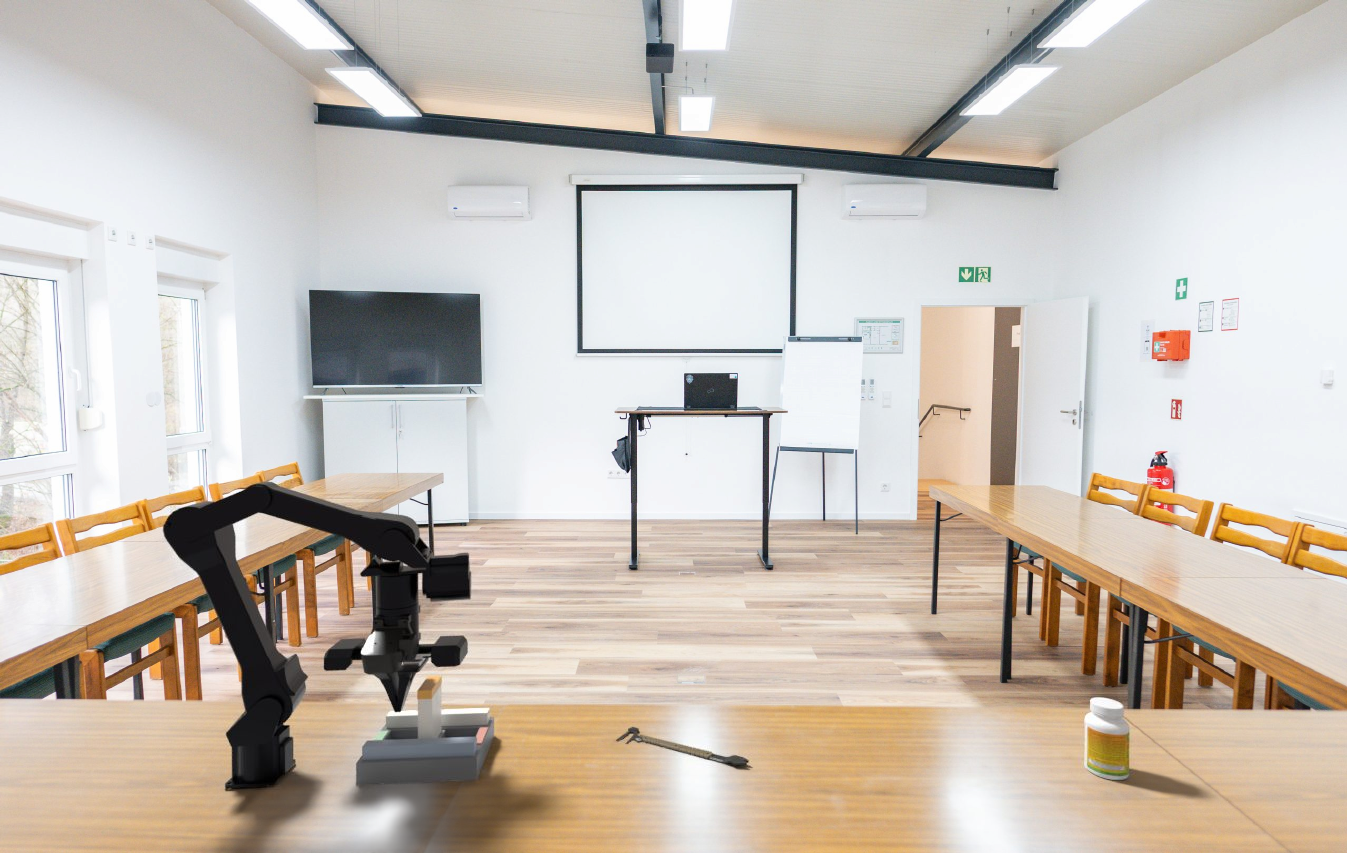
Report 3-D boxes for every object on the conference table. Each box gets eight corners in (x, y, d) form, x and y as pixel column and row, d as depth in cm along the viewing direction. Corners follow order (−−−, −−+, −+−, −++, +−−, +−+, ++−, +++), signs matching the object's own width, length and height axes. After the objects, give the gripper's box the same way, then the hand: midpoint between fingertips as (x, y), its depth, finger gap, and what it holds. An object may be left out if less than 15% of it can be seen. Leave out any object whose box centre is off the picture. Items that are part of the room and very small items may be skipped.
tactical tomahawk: (606, 752, 103) (605, 745, 103) (631, 731, 109) (630, 725, 109) (730, 789, 92) (730, 781, 92) (751, 764, 98) (750, 757, 98)
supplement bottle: (1136, 783, 93) (1137, 712, 92) (1092, 778, 94) (1093, 708, 94) (1118, 763, 98) (1119, 696, 98) (1077, 759, 99) (1078, 693, 99)
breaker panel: (356, 784, 92) (355, 749, 92) (388, 739, 105) (388, 708, 105) (476, 780, 93) (476, 745, 93) (494, 735, 106) (494, 705, 106)
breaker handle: (413, 755, 96) (413, 690, 96) (424, 737, 101) (424, 676, 101) (435, 755, 96) (435, 690, 96) (445, 737, 102) (445, 675, 102)
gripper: (305, 622, 89) (306, 740, 90) (449, 618, 91) (451, 734, 91) (339, 600, 101) (340, 704, 101) (468, 596, 102) (469, 699, 102)
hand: (398, 710), depth 98 cm, fingers closed
